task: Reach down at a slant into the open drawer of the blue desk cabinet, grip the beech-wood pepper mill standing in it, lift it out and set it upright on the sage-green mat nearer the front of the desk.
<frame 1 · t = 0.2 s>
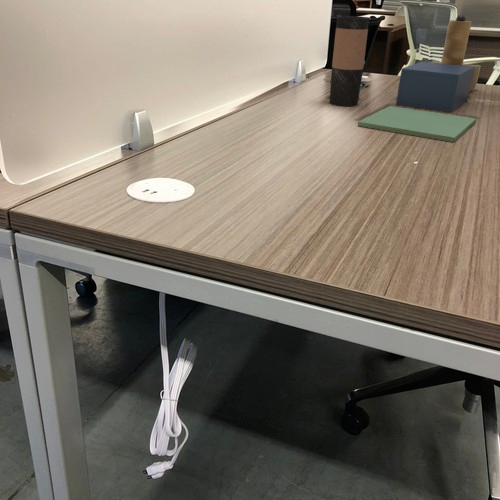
travel mug: (343, 104, 128), on the table
pepper mill: (446, 87, 141), point 2 cm above the table, touching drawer
mat: (417, 124, 110), on the table
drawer: (450, 78, 141), point 4 cm above the table, slide at 11.0 cm, touching pepper mill
cabinet: (432, 103, 132), on the table
chair: (348, 87, 151), on the table
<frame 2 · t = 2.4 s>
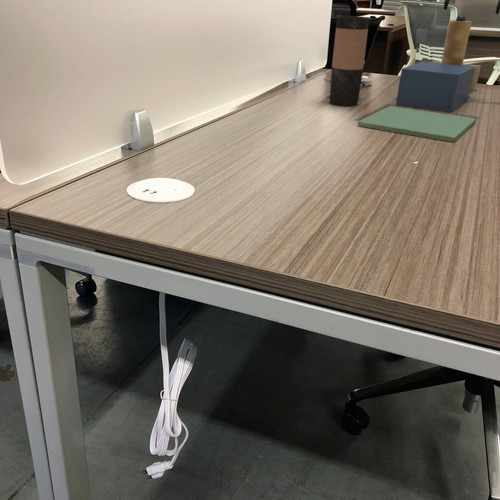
hand: (470, 8, 138), 22 cm above the table, tool tilted 45°, fingers open, 13 cm apart
nothing on the table moved.
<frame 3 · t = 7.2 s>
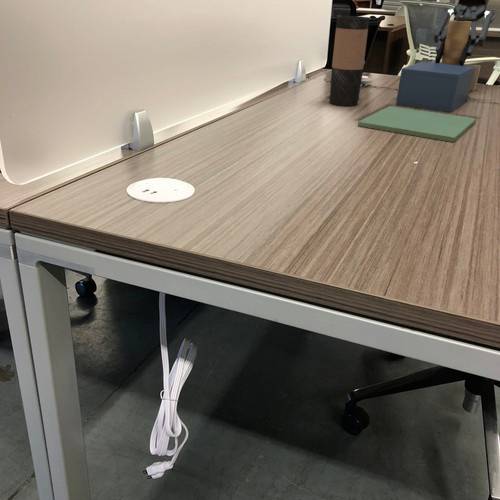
hand: (448, 63, 135), 9 cm above the table, tool tilted 45°, fingers closed on pepper mill, 6 cm apart
pepper mill: (447, 87, 141), point 2 cm above the table, touching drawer, gripper
everything else where it was.
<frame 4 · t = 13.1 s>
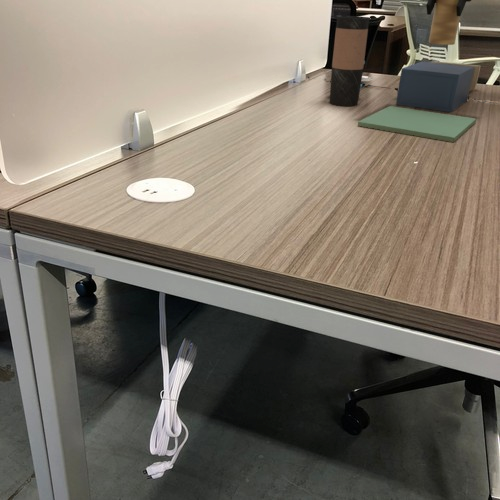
hand: (443, 10, 108), 22 cm above the table, tool tilted 45°, fingers closed on pepper mill, 6 cm apart
pepper mill: (441, 43, 114), point 15 cm above the table, touching gripper
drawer: (450, 78, 141), point 4 cm above the table, slide at 11.0 cm
everything else where it was.
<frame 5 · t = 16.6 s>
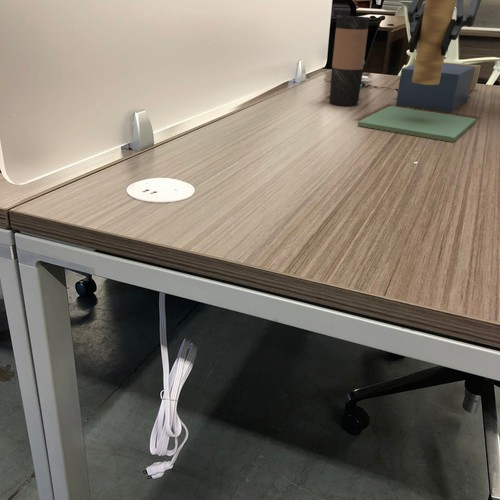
hand: (426, 49, 100), 16 cm above the table, tool tilted 45°, fingers closed on pepper mill, 6 cm apart
pepper mill: (425, 82, 106), point 9 cm above the table, touching gripper
everything else where it was.
when the fingers open (8 cm above the table, at t = 19.1 s): pepper mill stays where it is, resting on mat.
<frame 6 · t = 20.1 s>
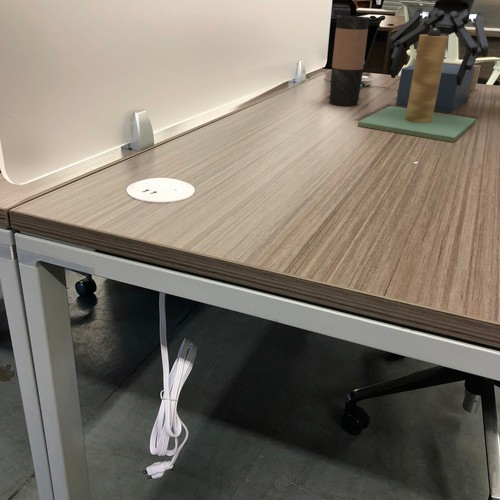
hand: (424, 77, 104), 10 cm above the table, tool tilted 45°, fingers open, 13 cm apart
pepper mill: (418, 119, 110), point 1 cm above the table, touching mat
everything else where it was.
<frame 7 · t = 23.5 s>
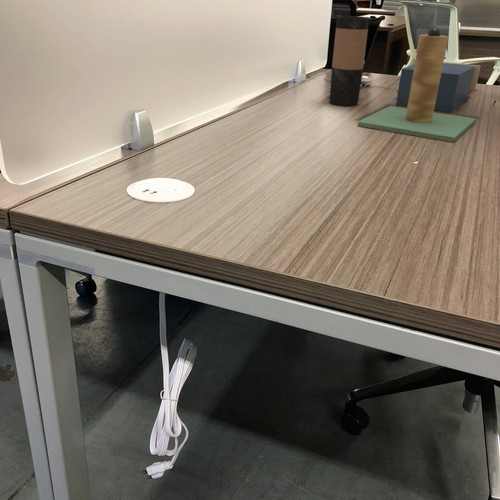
nothing on the table moved.
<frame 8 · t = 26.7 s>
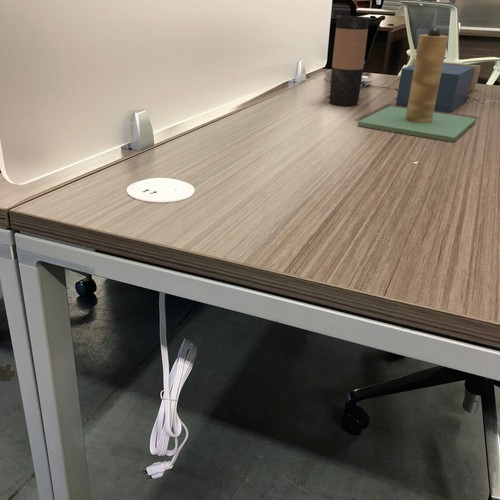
nothing on the table moved.
at the end: pepper mill inside the target area on the mat (0.0 cm from its centre), point 1.0 cm above the mat's base; pepper mill tilted 0° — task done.
